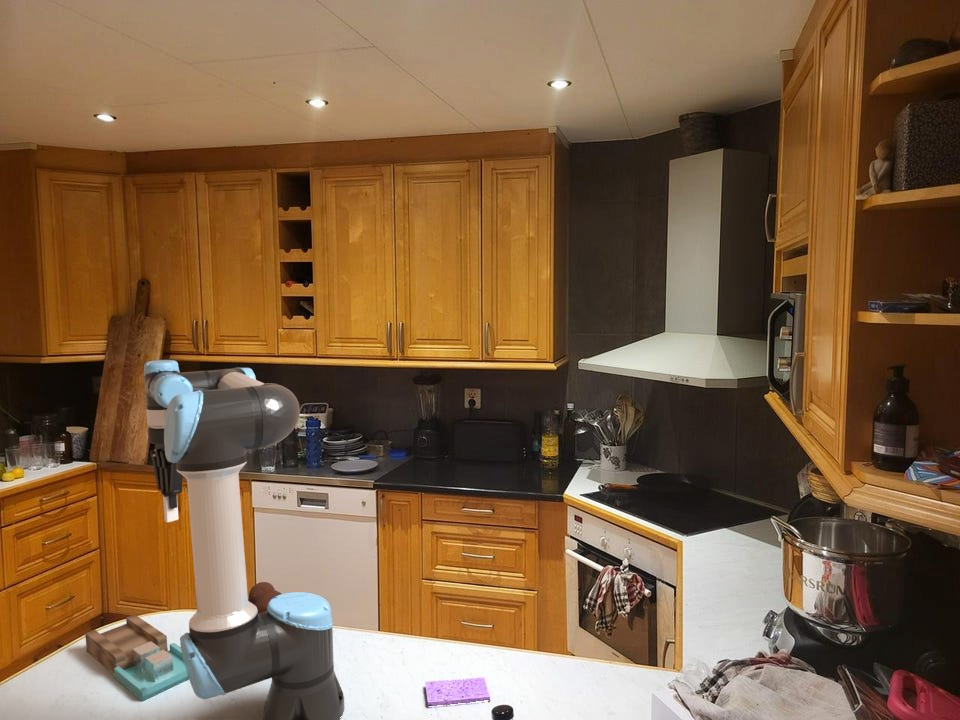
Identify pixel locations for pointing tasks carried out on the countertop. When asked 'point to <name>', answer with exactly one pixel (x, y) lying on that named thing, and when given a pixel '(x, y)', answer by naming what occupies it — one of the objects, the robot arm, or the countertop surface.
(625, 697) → the countertop surface
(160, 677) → the near block
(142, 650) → the far block
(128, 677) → the tray
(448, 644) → the countertop surface
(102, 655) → the groove board
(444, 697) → the sponges
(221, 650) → the robot arm
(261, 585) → the ice cream bowl
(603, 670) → the countertop surface
